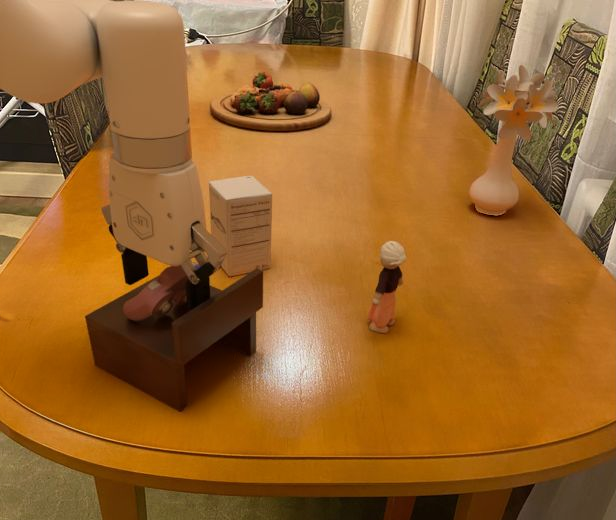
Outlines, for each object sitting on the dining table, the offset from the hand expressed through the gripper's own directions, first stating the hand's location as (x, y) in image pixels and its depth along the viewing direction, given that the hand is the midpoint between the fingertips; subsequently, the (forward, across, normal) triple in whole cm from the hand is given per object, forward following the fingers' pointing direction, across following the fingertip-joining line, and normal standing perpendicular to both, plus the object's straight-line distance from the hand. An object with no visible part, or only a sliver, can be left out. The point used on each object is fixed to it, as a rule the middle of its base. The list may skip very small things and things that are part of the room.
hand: (167, 293), depth 70 cm
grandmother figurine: (+9, +18, +22) cm, 30 cm away
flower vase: (+9, +17, +70) cm, 73 cm away
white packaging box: (+10, -8, +24) cm, 27 cm away
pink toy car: (+2, 0, 0) cm, 2 cm away
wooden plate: (+10, -52, +92) cm, 106 cm away
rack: (+9, +1, 0) cm, 9 cm away
